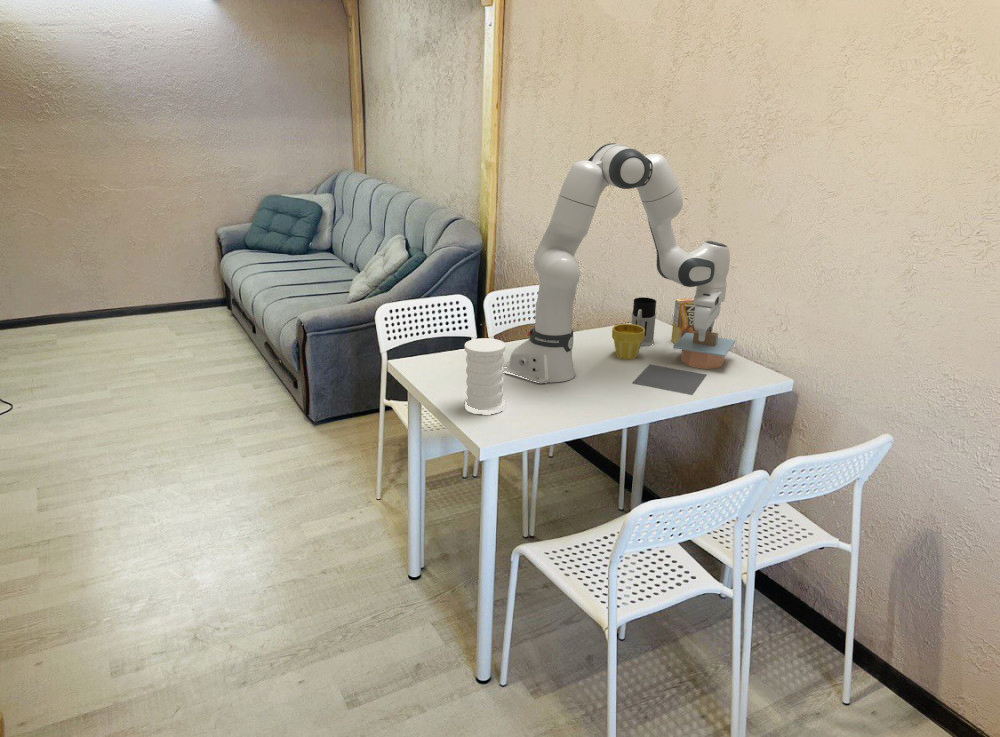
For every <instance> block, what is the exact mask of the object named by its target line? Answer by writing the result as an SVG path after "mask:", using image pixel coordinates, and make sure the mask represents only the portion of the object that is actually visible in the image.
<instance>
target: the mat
mask: <svg viewBox="0 0 1000 737" xmlns="http://www.w3.org/2000/svg"><path fill="white" fill-rule="evenodd" d="M707 376H708V374H705V373H701V372H695V371H689V370H685V369H684V370H683V369H678V368H673V367H668V366H661V365H657V364H656V365H655V364H648V365H647V367H646V368H645V369H643V371H642V372H641V373H639V375H638V376H637V377H636V378H635V379H634V380H633V381H632V382H631V384H633V385H638V386H642V387H649V388H653V389H659V390H663V391H669V392H673V393H680V394H685V395H690V396H694V394H695V392H696V391H697V389H698V388H699V387H700V385H701V384H702V383H703V381H704V380H705V378H706V377H707Z"/></svg>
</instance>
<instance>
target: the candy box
mask: <svg viewBox="0 0 1000 737" xmlns="http://www.w3.org/2000/svg"><path fill="white" fill-rule="evenodd" d="M693 301H694V297H692V298H689V297H688V298H676V299H675V302H674V310H673V320H672V330H671V338H670V340H671V342H672V343H673V342H674V343H673V344H674V345H675V344H676V343H677V342H678V341H679V340H680V339H681V338H682V336H683V335H684V334H685V333H693V334H694V332H695V331H696V330H695V328H694V310H695V304H693Z"/></svg>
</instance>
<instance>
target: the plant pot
mask: <svg viewBox="0 0 1000 737" xmlns="http://www.w3.org/2000/svg"><path fill="white" fill-rule="evenodd" d="M644 337H645V329H644V328H643V327H641V326H639V325H634V324H632V323H621V324H620V323H619V324H616V325H614V326H612V332H611V338H612V339H613V343H614V349H615V356H616V357H617V358H619V359H622V360H634V359H636V358H637V357H638V355H639V351H640V348H641V347H642V346H641V343H642V341H643V340H644Z"/></svg>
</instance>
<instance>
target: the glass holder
mask: <svg viewBox="0 0 1000 737" xmlns="http://www.w3.org/2000/svg"><path fill="white" fill-rule="evenodd" d="M632 308H633V309H632V313H631V324H634V325H639V326H641V327H643V328H644V329H645V337H644V340H643V341H642V343H641V346H640V347H651V346H653V345H655V341H654V336H655V326H656V316H657V315H656V308H657V300H656V299H655V298H651V297H641V296H640V297H636V298H634V299H633V306H632ZM652 344H653V345H652ZM650 345H651V346H650Z"/></svg>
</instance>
